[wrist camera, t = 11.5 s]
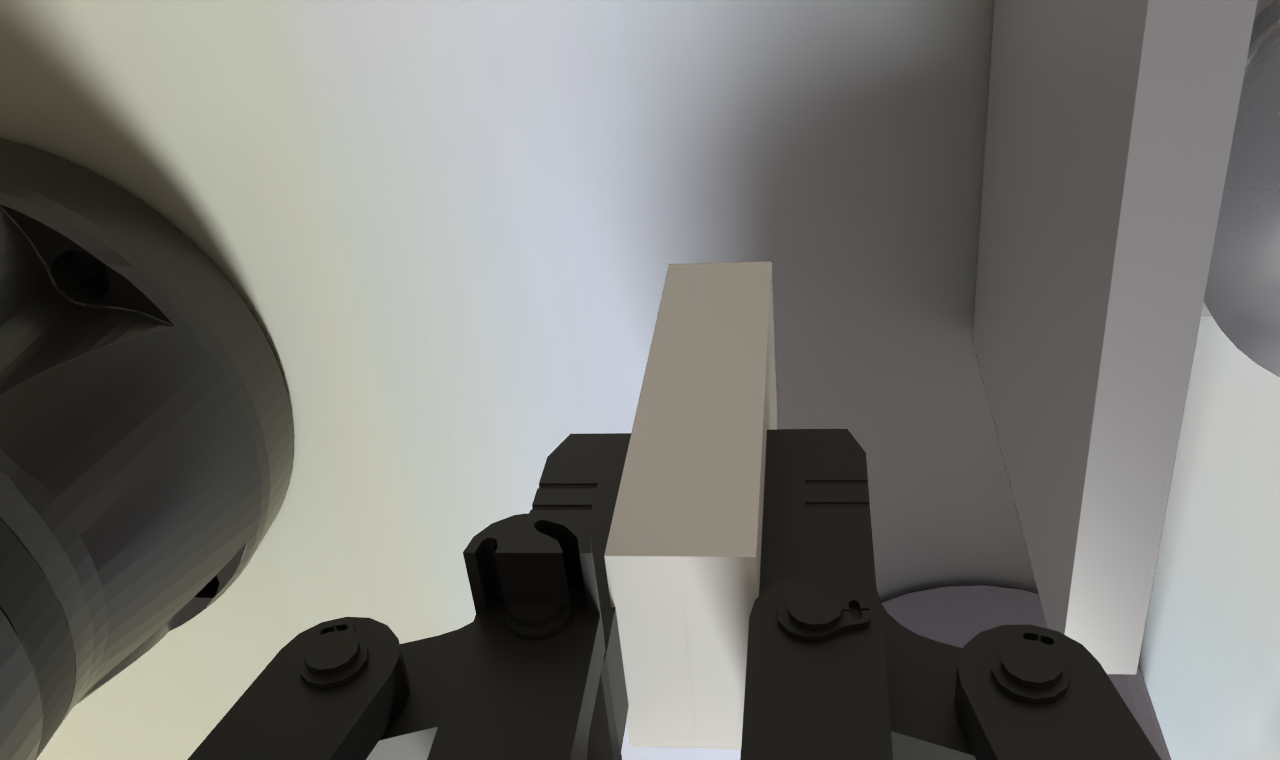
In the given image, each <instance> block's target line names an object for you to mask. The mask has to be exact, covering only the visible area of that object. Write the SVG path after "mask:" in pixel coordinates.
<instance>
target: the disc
mask: <svg viewBox="0 0 1280 760" xmlns="http://www.w3.org/2000/svg"><path fill="white" fill-rule="evenodd" d="M1203 302H1204V304H1205V305H1206V307H1207V308H1208V310H1209V312H1210V313H1211V315H1212V316H1213V318H1214V319H1215V321H1216V323H1217V324H1218V326H1219V327H1220V329H1221V330H1222V331H1223V332H1224V334H1225V335H1226V336H1227V337H1228V338H1229V339H1230V340H1231V341H1232V342H1233V344H1234V345H1235V346H1236V347H1237V348H1238V349H1239V350H1240V351H1242V352H1243V353H1244V354H1245V355H1247V356H1248V357H1249V358H1250V359H1252V360H1253V361H1254V362H1255V363H1257V364H1258V365H1260V366H1261V367H1263V368H1265V369H1267V370H1268V371H1270V372H1272V373H1273V374H1275V375H1277V376H1278V377H1280V0H1276V1H1274V2H1273V3H1272V4H1271V5H1269V6H1268V7H1267V8H1266V9H1265V10H1263V11H1262V12H1261V13H1260V14H1259V15H1258V16H1257V17H1256V18H1255V19H1254V23H1253V29H1252V34H1251V40H1250V45H1249V51H1248V56H1247V62H1246V68H1245V73H1244V79H1243V84H1242V90H1241V95H1240V101H1239V106H1238V112H1237V118H1236V123H1235V129H1234V134H1233V140H1232V145H1231V151H1230V156H1229V162H1228V167H1227V173H1226V179H1225V184H1224V190H1223V195H1222V201H1221V206H1220V212H1219V217H1218V223H1217V229H1216V234H1215V240H1214V245H1213V251H1212V256H1211V262H1210V267H1209V273H1208V279H1207V284H1206V290H1205V295H1204V301H1203Z"/></svg>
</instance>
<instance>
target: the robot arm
mask: <svg viewBox="0 0 1280 760" xmlns="http://www.w3.org/2000/svg"><path fill="white" fill-rule="evenodd" d="M293 459H294V428H293V418H292V412H291V406H290V401H289V397H288V393H287V389H286V385H285V382H284V379H283V376H282V373H281V370H280V368H279V365H278V363H277V360H276V358H275V356H274V353H273V351H272V349H271V347H270V345H269V343H268V341H267V339H266V337H265V335H264V333H263V331H262V329H261V328H260V326H259V324H258V323H257V321H256V319H255V317H254V316H253V314H252V313H251V311H250V310H249V308H248V307H247V305H246V304H245V302H244V301H243V299H242V298H241V296H240V295H239V294H238V292H237V291H236V290H235V289H234V287H233V286H232V285H231V283H230V282H229V281H228V280H227V278H226V277H225V276H224V275H223V274H222V273H221V271H220V270H219V269H218V268H217V267H216V266H215V265H214V263H213V262H212V261H211V260H210V259H209V258H208V257H207V256H206V255H205V254H204V253H203V252H202V251H201V250H200V249H199V248H198V247H197V246H196V245H195V244H194V243H193V242H192V241H191V240H190V239H188V238H187V237H186V236H185V235H184V234H183V233H182V232H181V231H180V230H178V229H177V228H176V227H175V226H174V225H172V224H171V223H170V222H169V221H167V220H166V219H165V218H164V217H162V216H161V215H160V214H159V213H157V212H156V211H155V210H153V209H152V208H150V207H149V206H148V205H146V204H145V203H143V202H142V201H141V200H139V199H138V198H136V197H135V196H133V195H131V194H130V193H128V192H127V191H125V190H124V189H122V188H120V187H119V186H117V185H115V184H114V183H112V182H110V181H108V180H106V179H105V178H103V177H101V176H99V175H97V174H95V173H93V172H91V171H89V170H87V169H85V168H83V167H81V166H79V165H77V164H75V163H72V162H70V161H68V160H65V159H63V158H60V157H58V156H55V155H53V154H50V153H47V152H45V151H42V150H39V149H36V148H33V147H30V146H26V145H23V144H19V143H16V142H12V141H8V140H4V139H0V760H36V759H37V758H38V756H39V755H40V753H41V752H42V750H43V749H44V747H45V746H46V745H47V743H48V742H49V740H50V739H51V737H52V736H53V734H54V733H55V731H56V730H57V729H58V727H59V726H60V724H61V723H62V722H63V720H64V719H65V717H66V716H67V715H68V713H69V712H70V711H71V709H72V708H73V707H74V706H75V705H77V704H78V703H79V702H81V701H82V700H83V699H85V698H86V697H87V696H89V695H90V694H91V693H93V692H94V691H95V690H97V689H98V688H100V687H101V686H102V685H104V684H105V683H106V682H108V681H109V680H110V679H112V678H113V677H114V676H116V675H117V674H118V673H120V672H121V671H122V670H124V669H125V668H126V667H128V666H129V665H130V664H132V663H133V662H134V661H136V660H137V659H138V658H140V657H141V656H142V655H143V654H145V653H146V652H147V651H148V650H150V649H151V648H152V647H153V646H154V645H155V644H157V643H158V642H159V641H160V640H161V639H162V638H163V637H164V636H165V635H166V634H167V633H168V632H169V631H171V630H173V629H175V628H177V627H179V626H181V625H182V624H184V623H186V622H187V621H189V620H190V619H192V618H193V617H195V616H196V615H197V614H199V613H200V612H202V611H203V610H204V609H206V608H207V607H208V606H209V605H211V604H212V603H213V602H215V601H216V600H217V599H218V598H219V597H220V596H221V595H222V594H223V593H224V592H225V591H226V590H227V589H228V588H229V587H230V585H231V584H232V583H233V582H234V581H235V580H236V579H237V578H238V576H239V575H240V574H241V573H242V571H243V570H244V568H245V567H246V566H247V564H248V563H249V561H250V559H251V558H252V556H253V554H254V553H255V551H256V550H257V548H258V546H259V545H260V543H261V541H262V540H263V538H264V536H265V535H266V533H267V531H268V530H269V528H270V526H271V525H272V523H273V521H274V519H275V518H276V516H277V514H278V512H279V510H280V508H281V506H282V503H283V501H284V499H285V496H286V493H287V490H288V486H289V483H290V478H291V473H292V468H293ZM532 506H533V508H532V510H531V511H530V513H529V514H521V515H514V516H511V517H509V518H506V519H503V520H501V521H498V522H495V523H493V524H491V525H489V526H488V527H487V528H485V529H484V530H482V531H481V532H480V533H478V534H477V535H476V536H474V537H473V539H472V540H471V542H470V543H469V545H468V546H467V548H466V549H465V550H464V552H463V555H464V559H465V564H466V568H467V573H468V578H469V582H470V587H471V592H472V596H473V601H474V605H475V610H476V616H475V619H474V622H472V623H470V624H468V625H466V626H464V627H462V628H460V629H458V630H455V631H452V632H449V633H446V634H442V635H439V636H435V637H430V638H426V639H422V640H417V641H413V642H408V643H404V644H399V640H398V638H397V637H396V635H395V634H394V633H393V632H392V631H391V629H390V628H389V627H388V626H387V625H385V624H383V623H380V622H378V621H375V620H373V619H371V618H358V617H344V618H340V619H335V620H331V621H326V622H322V623H320V624H318V625H316V626H314V627H312V628H310V629H308V630H306V631H304V632H302V633H300V634H298V635H297V636H296V637H295V638H294V639H293V640H291V641H290V642H289V643H288V644H287V645H286V646H285V647H283V648H282V649H281V650H280V651H279V653H278V654H277V655H276V656H275V657H274V658H273V660H272V661H271V662H270V663H269V664H268V666H267V667H266V668H265V669H264V670H263V671H262V673H261V674H260V675H259V676H258V677H257V678H256V680H255V681H254V682H253V683H252V684H251V686H250V687H249V688H248V689H247V690H246V691H245V693H244V694H243V695H242V696H241V697H240V698H239V700H238V701H237V702H236V703H235V704H234V706H233V707H232V708H231V709H230V710H229V711H228V713H227V714H226V715H225V716H224V717H223V719H222V720H221V721H220V722H219V723H218V724H217V726H216V727H215V728H214V729H213V730H212V731H211V733H210V734H209V735H208V736H207V737H206V739H205V740H204V741H203V742H202V743H201V744H200V746H199V747H198V748H197V749H196V750H195V751H194V753H193V754H192V755H191V756H190V757H189V759H188V760H622V756H621V748H622V742H623V736H624V730H625V724H626V719H627V726H628V733H629V740H630V746H647V747H679V748H710V749H741V760H1161V758H1160V757H1159V755H1158V754H1157V752H1156V751H1155V749H1154V747H1153V746H1152V744H1151V743H1150V741H1149V740H1148V738H1147V736H1146V735H1145V733H1144V732H1143V730H1142V729H1141V727H1140V725H1139V724H1138V722H1137V721H1136V719H1135V718H1134V716H1133V714H1132V713H1131V711H1130V710H1129V708H1128V707H1127V705H1126V703H1125V702H1124V700H1123V699H1122V697H1121V696H1120V694H1119V692H1118V691H1117V689H1116V688H1115V686H1114V685H1113V683H1112V681H1111V680H1110V678H1109V677H1108V675H1107V674H1106V672H1105V670H1104V669H1103V667H1102V666H1101V664H1100V663H1099V662H1098V661H1097V659H1096V658H1095V657H1094V656H1093V655H1092V654H1091V653H1090V652H1089V651H1088V650H1087V649H1086V648H1085V647H1084V646H1083V645H1082V644H1080V643H1079V642H1077V641H1075V640H1073V639H1071V638H1069V637H1068V636H1066V635H1064V634H1062V633H1060V632H1059V631H1055V630H1051V629H1047V628H1043V627H1039V626H1035V625H1031V624H1030V625H1001V626H998V627H995V628H992V629H989V630H986V631H982V632H980V633H979V634H977V635H976V636H975V637H974V638H973V639H971V640H970V641H969V642H968V643H967V644H966V645H964V647H963V648H961V647H957V646H953V645H949V644H945V643H941V642H938V641H935V640H932V639H929V638H926V637H923V636H921V635H918V634H916V633H914V632H913V631H911V630H909V629H907V628H906V627H904V626H902V625H901V624H899V623H898V622H897V621H896V620H895V619H894V618H893V617H892V616H891V615H889V614H888V613H887V611H886V609H885V608H884V606H883V605H882V603H881V602H880V600H879V597H878V593H877V589H876V581H875V568H874V555H873V542H872V529H871V516H870V507H869V490H868V477H867V464H866V453H865V451H864V450H863V449H862V448H861V446H860V445H859V444H858V442H857V441H856V440H855V439H854V437H853V436H852V435H851V434H850V432H849V431H848V430H847V429H780V430H777V394H776V366H775V337H774V309H773V281H772V261H762V262H729V263H695V264H669V267H668V271H667V276H666V280H665V285H664V289H663V294H662V298H661V303H660V307H659V312H658V316H657V321H656V325H655V330H654V334H653V339H652V343H651V348H650V352H649V357H648V361H647V366H646V370H645V375H644V379H643V384H642V388H641V393H640V397H639V402H638V406H637V411H636V415H635V420H634V424H633V429H632V433H626V434H570V435H569V436H568V437H567V438H566V439H565V440H564V441H563V442H562V443H561V444H560V445H559V446H558V447H557V448H556V449H555V450H554V451H553V452H552V453H551V454H550V455H549V456H548V457H547V461H546V464H545V467H544V470H543V473H542V476H541V479H540V482H539V489H537V492H536V495H535V498H534V501H533V504H532Z"/></svg>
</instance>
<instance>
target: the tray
mask: <svg viewBox="0 0 1280 760" xmlns="http://www.w3.org/2000/svg"><path fill="white" fill-rule="evenodd" d="M1274 1H1276V0H995V5H994V20H993V36H992V51H991V66H990V81H989V96H988V112H987V127H986V142H985V157H984V173H983V188H982V203H981V218H980V234H979V249H978V264H977V279H976V294H975V310H974V325H973V344H974V348H975V351H976V355H977V359H978V363H979V367H980V371H981V374H982V378H983V382H984V386H985V390H986V394H987V397H988V401H989V405H990V409H991V413H992V417H993V421H994V424H995V428H996V432H997V436H998V440H999V444H1000V447H1001V451H1002V455H1003V459H1004V463H1005V467H1006V470H1007V474H1008V478H1009V482H1010V486H1011V490H1012V493H1013V497H1014V501H1015V505H1016V509H1017V513H1018V517H1019V520H1020V524H1021V528H1022V532H1023V536H1024V540H1025V543H1026V547H1027V551H1028V555H1029V559H1030V563H1031V566H1032V570H1033V574H1034V578H1035V582H1036V586H1037V589H1038V593H1039V597H1040V601H1041V605H1042V609H1043V612H1044V616H1045V620H1046V624H1047V628H1048V629H1051V630H1055V631H1059V632H1060V633H1062V634H1064V635H1066V636H1068V637H1069V638H1071V639H1073V640H1075V641H1077V642H1079V643H1080V644H1082V645H1083V646H1084V647H1085V648H1086V649H1087V650H1088V651H1089V652H1090V653H1091V654H1092V655H1093V656H1094V657H1095V658H1096V659H1097V661H1098V662H1099V663H1100V664H1101V666H1102V667H1103V669H1104V670H1105V672H1106V674H1132V675H1136V673H1137V667H1138V662H1139V656H1140V651H1141V645H1142V640H1143V634H1144V628H1145V623H1146V617H1147V612H1148V606H1149V601H1150V595H1151V590H1152V584H1153V579H1154V573H1155V567H1156V562H1157V556H1158V551H1159V545H1160V540H1161V534H1162V529H1163V523H1164V517H1165V512H1166V506H1167V501H1168V495H1169V490H1170V484H1171V479H1172V473H1173V467H1174V462H1175V456H1176V451H1177V445H1178V440H1179V434H1180V429H1181V423H1182V417H1183V412H1184V406H1185V401H1186V395H1187V390H1188V384H1189V379H1190V373H1191V367H1192V362H1193V356H1194V351H1195V345H1196V340H1197V334H1198V329H1199V323H1200V317H1201V316H1212V315H1211V313H1210V312H1209V310H1208V308H1207V307H1206V305H1205V304H1204V302H1203V301H1204V295H1205V290H1206V284H1207V279H1208V273H1209V267H1210V262H1211V256H1212V251H1213V245H1214V240H1215V234H1216V229H1217V223H1218V217H1219V212H1220V206H1221V201H1222V195H1223V190H1224V184H1225V179H1226V173H1227V167H1228V162H1229V156H1230V151H1231V145H1232V140H1233V134H1234V129H1235V123H1236V118H1237V112H1238V106H1239V101H1240V95H1241V90H1242V84H1243V79H1244V73H1245V68H1246V62H1247V56H1248V51H1249V45H1250V40H1251V34H1252V29H1253V23H1254V19H1255V18H1256V17H1257V16H1258V15H1259V14H1260V13H1261V12H1262V11H1263V10H1265V9H1266V8H1267V7H1268V6H1269V5H1271V4H1272V3H1273V2H1274Z"/></svg>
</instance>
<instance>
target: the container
mask: <svg viewBox="0 0 1280 760" xmlns="http://www.w3.org/2000/svg"><path fill="white" fill-rule="evenodd" d="M882 605H883V606H884V608H885V609H886V611H887V613H888V614H889V615H891V616H892V617H893V618H894V619H895V620H896V621H897V622H898V623H899V624H901V625H902V626H904V627H906V628H907V629H909V630H911V631H913V632H914V633H916V634H918V635H921V636H923V637H926V638H929V639H932V640H935V641H938V642H941V643H945V644H949V645H953V646H957V647H961V648H963V647H964V645H966V644H967V643H968V642H969V641H970V640H971V639H973V638H974V637H975V636H976V635H977V634H979V633H980V632H982V631H986V630H989V629H992V628H995V627H998V626H1001V625H1030V624H1031V625H1035V626H1039V627H1043V628H1047V624H1046V620H1045V616H1044V612H1043V609H1042V605H1041V601H1040V597H1039V594H1036V593H1032V592H1028V591H1025V590H1021V589H1012V588H1003V587H994V586H985V585H979V586H952V587H941V588H935V589H930V590H924V591H918V592H912V593H908V594H905V595H902V596H900V597H897V598H894V599H891V600H888V601H886V602H883V603H882ZM1047 629H1048V628H1047ZM1107 675H1108V677H1109V678H1110V680H1111V681H1112V683H1113V685H1114V686H1115V688H1116V689H1117V691H1118V692H1119V694H1120V696H1121V697H1122V699H1123V700H1124V702H1125V703H1126V705H1127V707H1128V708H1129V710H1130V711H1131V713H1132V714H1133V716H1134V718H1135V719H1136V721H1137V722H1138V724H1139V725H1140V727H1141V729H1142V730H1143V732H1144V733H1145V735H1146V736H1147V738H1148V740H1149V741H1150V743H1151V744H1152V746H1153V747H1154V749H1155V751H1156V752H1157V754H1158V755H1159V757H1160V758H1161V760H1171V758H1170V755H1169V752H1168V749H1167V746H1166V743H1165V740H1164V737H1163V734H1162V731H1161V728H1160V725H1159V722H1158V720H1157V717H1156V714H1155V711H1154V708H1153V705H1152V702H1151V699H1150V696H1149V693H1148V690H1147V687H1146V684H1145V681H1144V679H1143V676H1142V674H1141V672H1140V670H1139V668H1138V667H1137V673H1136V675H1132V674H1107Z"/></svg>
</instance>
